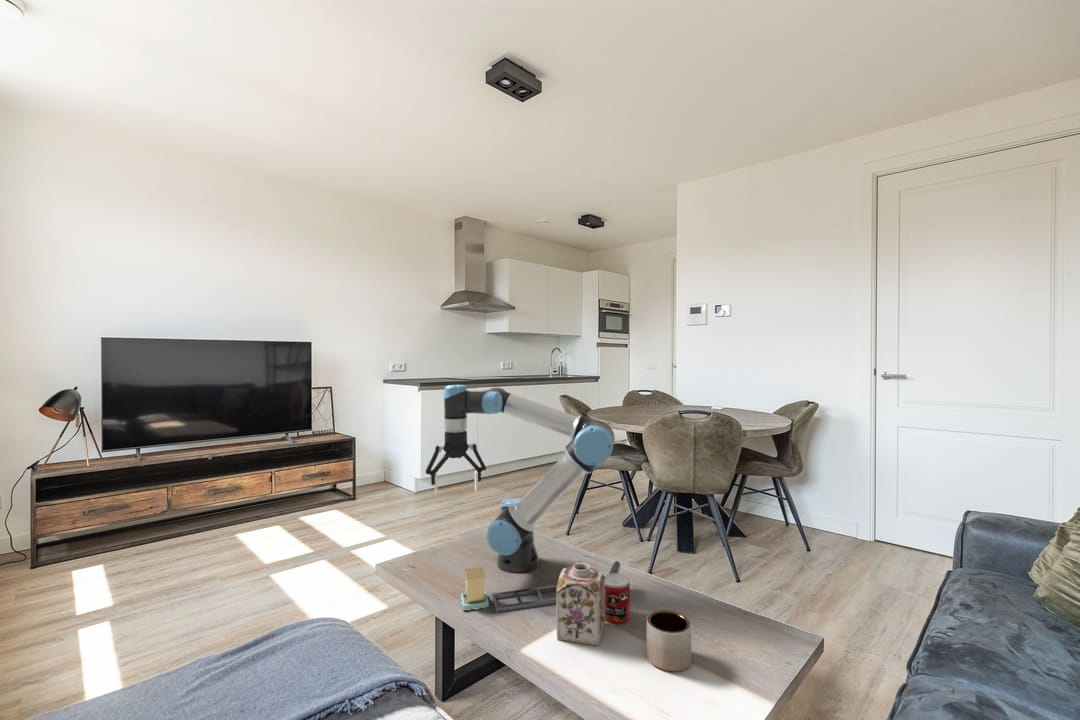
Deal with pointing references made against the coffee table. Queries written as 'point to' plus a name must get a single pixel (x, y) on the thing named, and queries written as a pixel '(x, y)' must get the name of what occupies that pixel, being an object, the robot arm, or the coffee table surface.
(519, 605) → the rail
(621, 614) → the canned food
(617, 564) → the portable electronic device stand
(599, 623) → the decorative jar
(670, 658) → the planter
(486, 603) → the parts tray
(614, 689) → the coffee table surface
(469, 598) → the block
